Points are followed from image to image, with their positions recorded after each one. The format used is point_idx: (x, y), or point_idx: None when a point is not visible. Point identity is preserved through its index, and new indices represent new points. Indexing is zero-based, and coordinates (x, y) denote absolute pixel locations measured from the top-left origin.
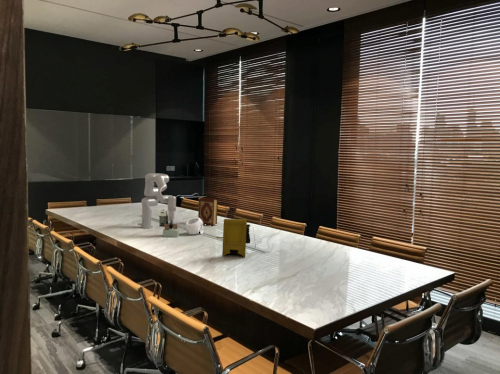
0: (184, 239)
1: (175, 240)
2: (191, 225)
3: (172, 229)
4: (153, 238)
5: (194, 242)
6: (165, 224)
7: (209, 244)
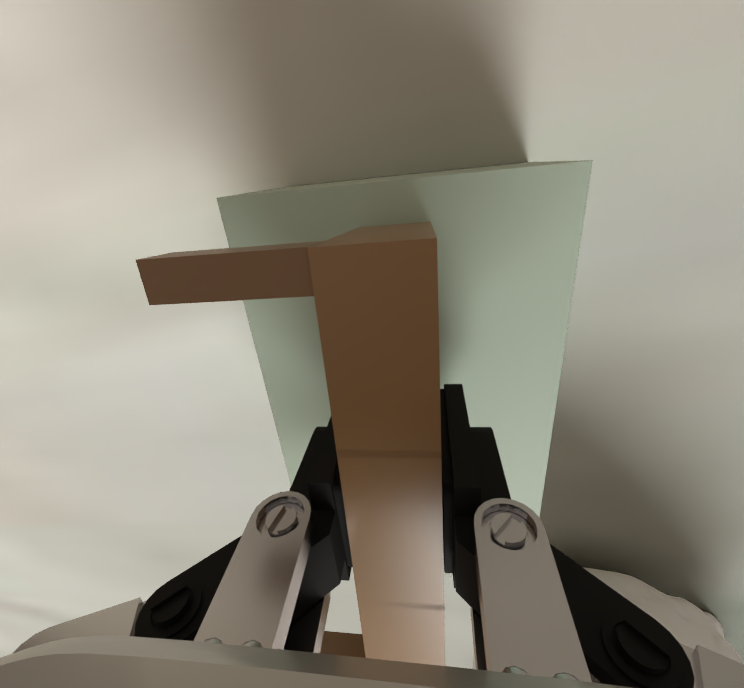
0: (230, 516)
1: (125, 431)
2: None
3: None
4: (50, 6)
5: (142, 588)
6: (324, 312)
7: None
